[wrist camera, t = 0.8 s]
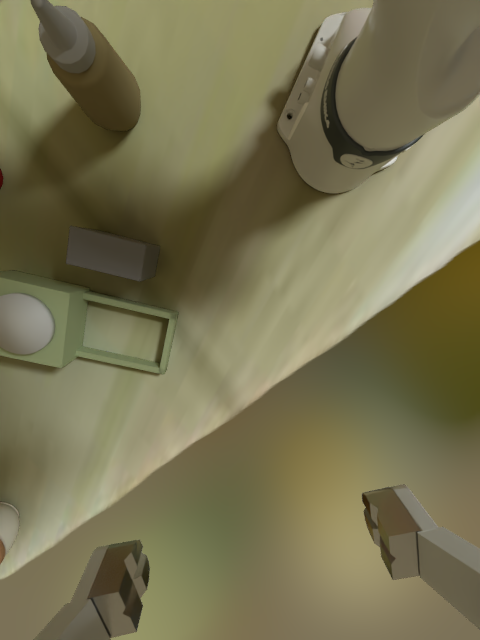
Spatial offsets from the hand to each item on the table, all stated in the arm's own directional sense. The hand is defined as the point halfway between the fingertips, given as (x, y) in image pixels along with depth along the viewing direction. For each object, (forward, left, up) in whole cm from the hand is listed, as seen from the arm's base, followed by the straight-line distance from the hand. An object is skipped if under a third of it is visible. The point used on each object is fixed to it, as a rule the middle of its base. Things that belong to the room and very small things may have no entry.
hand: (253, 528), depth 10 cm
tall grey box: (-5, -19, -40) cm, 44 cm away
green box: (+8, -24, -39) cm, 47 cm away
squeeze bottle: (-25, -23, -40) cm, 52 cm away
